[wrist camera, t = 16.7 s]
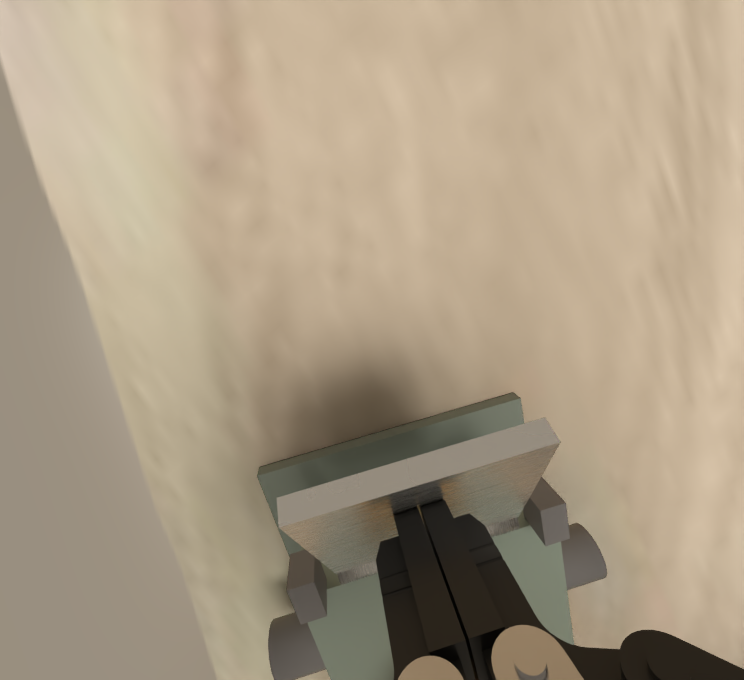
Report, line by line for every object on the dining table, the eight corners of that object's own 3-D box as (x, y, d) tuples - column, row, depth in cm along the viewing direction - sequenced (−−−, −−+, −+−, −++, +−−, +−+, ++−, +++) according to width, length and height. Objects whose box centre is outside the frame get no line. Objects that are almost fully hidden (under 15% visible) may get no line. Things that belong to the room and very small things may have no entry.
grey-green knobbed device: (538, 385, 22) (657, 467, 14) (567, 609, 27) (666, 759, 19) (232, 475, 21) (179, 616, 13) (323, 689, 26) (324, 882, 18)
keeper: (502, 502, 16) (539, 409, 10) (516, 532, 15) (566, 451, 9) (339, 553, 15) (275, 487, 9) (344, 587, 14) (279, 539, 9)
